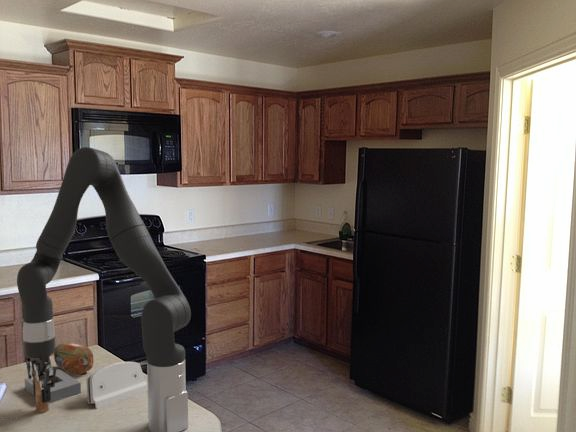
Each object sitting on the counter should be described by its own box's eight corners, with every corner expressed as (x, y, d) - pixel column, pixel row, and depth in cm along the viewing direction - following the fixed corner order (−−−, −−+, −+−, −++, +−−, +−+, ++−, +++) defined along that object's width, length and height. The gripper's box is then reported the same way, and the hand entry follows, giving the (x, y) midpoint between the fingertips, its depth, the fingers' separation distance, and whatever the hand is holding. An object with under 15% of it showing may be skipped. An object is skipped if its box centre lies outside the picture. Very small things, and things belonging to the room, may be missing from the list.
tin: (53, 367, 169) (52, 342, 168) (61, 364, 172) (60, 339, 171) (87, 376, 163) (87, 350, 162) (95, 373, 166) (95, 346, 165)
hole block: (80, 392, 151) (80, 382, 151) (45, 404, 144) (44, 393, 144) (59, 378, 161) (58, 369, 161) (25, 388, 154) (24, 378, 153)
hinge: (95, 409, 142) (88, 371, 143) (87, 409, 145) (81, 372, 146) (150, 390, 154) (143, 355, 155) (142, 390, 157) (135, 356, 158)
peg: (50, 410, 141) (49, 374, 140) (39, 414, 138) (37, 377, 137) (45, 406, 143) (44, 371, 142) (34, 410, 141) (32, 374, 139)
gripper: (65, 339, 136) (68, 402, 138) (42, 326, 146) (45, 386, 148) (35, 346, 131) (38, 412, 133) (13, 333, 140) (16, 395, 142)
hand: (42, 398), depth 140 cm, fingers open, 4 cm apart
